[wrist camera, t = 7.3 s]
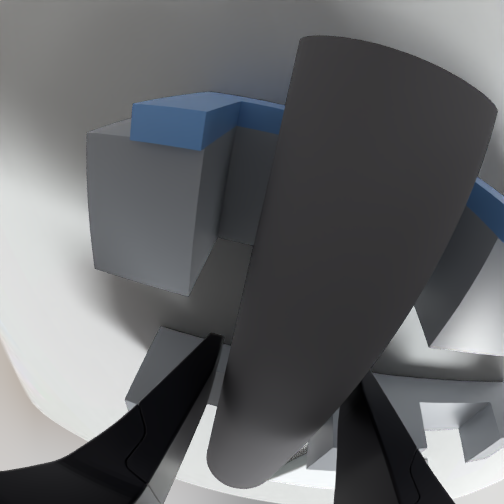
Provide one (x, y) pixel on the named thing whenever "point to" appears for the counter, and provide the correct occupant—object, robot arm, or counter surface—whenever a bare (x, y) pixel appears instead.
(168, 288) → the grey blocky pieces
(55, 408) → the counter surface
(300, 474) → the external hard drive
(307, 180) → the dark grey cylinder
